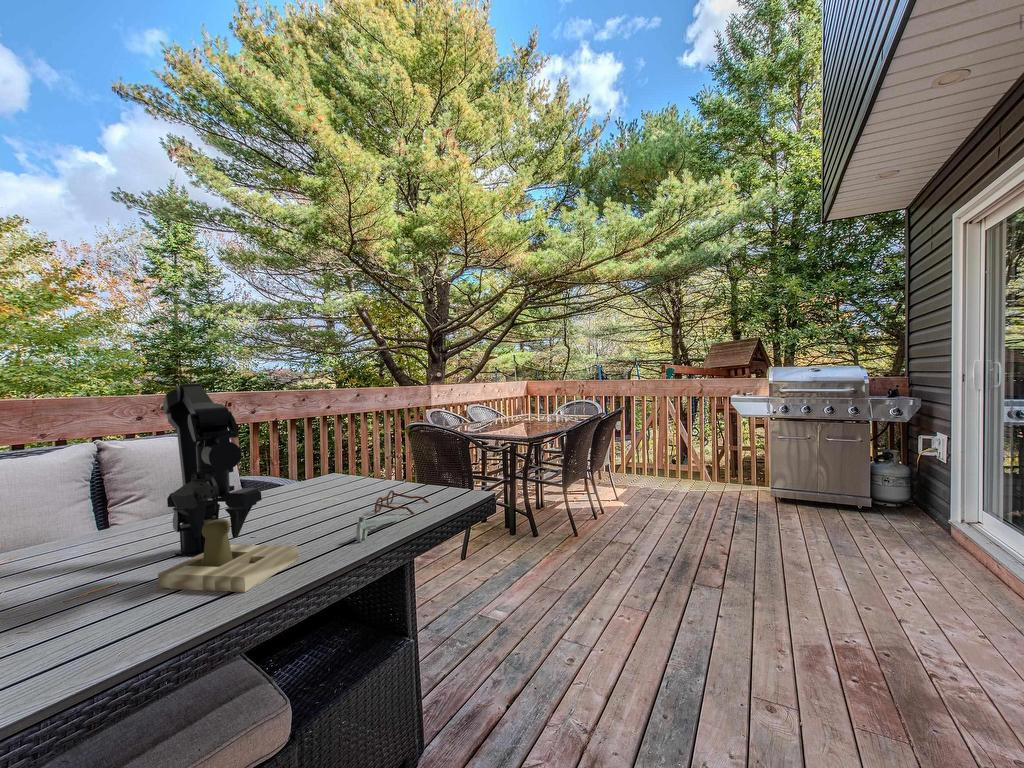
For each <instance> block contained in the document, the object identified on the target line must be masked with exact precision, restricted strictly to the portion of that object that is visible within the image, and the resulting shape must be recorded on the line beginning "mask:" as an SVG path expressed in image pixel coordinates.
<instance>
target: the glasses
mask: <svg viewBox="0 0 1024 768" xmlns="http://www.w3.org/2000/svg"><path fill="white" fill-rule="evenodd" d="M390 495H391V496H392V497H391V499H389V497H390ZM395 496H397V497H402V498H408V499H420V500H422V501H423V502H425V503H430V501H429V500H427V499H426V498H424V497H423V496H419V495H415V496H411V495H406V494H401V493H397V492H395V491H394V490H393V489H392V490H389V491H388V494H387V496H384V497H382V496H379V497H378V498H377V500H376V502H375V504H374V512H375V513H376V514H377V512H378V513H379V512H381V510H382V507H383V508H387V509H391V510H395V511H396V510H401V509H402V510H406V511H407V512H409V513H410V514H411V515H416V514H415V512H414V511H413V510H412V509H410V508H409V507H408V506H392V505H391V504H392V503H393V501H394V497H395ZM385 500H386V504H383V502H384V501H385ZM389 500H390V502H389ZM379 501H380V503H379ZM389 504H390V505H389ZM378 507H379V508H378ZM377 508H378V509H377Z"/></svg>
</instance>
